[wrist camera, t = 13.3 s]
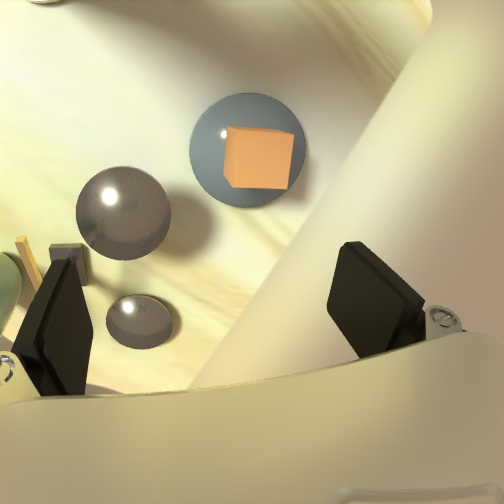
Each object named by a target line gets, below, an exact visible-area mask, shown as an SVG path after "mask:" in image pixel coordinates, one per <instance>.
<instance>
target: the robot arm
mask: <svg viewBox="0 0 504 504" xmlns="http://www.w3.org/2000/svg"><path fill="white" fill-rule="evenodd" d="M28 1H30V2H34V3H52V2H57V1H60V0H28ZM424 303H425V300H424V299H423V298H422V297H421V296H420V295H419V294H418V293H417V292H416V291H415V290H414V289H413V288H411V287H410V286H409V285H408V284H407V283H406V282H405V281H404V280H403V279H402V278H401V277H400V276H399V275H398V274H397V273H395V272H394V271H393V270H392V269H391V268H390V267H389V266H388V265H387V264H386V263H384V262H383V261H382V260H381V259H380V258H378V256H377V255H375V254H374V253H373V252H372V251H371V250H370V249H368V248H367V247H366V246H365V245H364V244H363V243H362V242H360V241H357V242H346V243H345V244H344V245H343V246H342V247H341V248H340V250H339V255H338V259H337V264H336V268H335V272H334V277H333V281H332V285H331V290H330V294H329V297H328V302H327V311H328V313H329V315H330V316H331V318H332V319H333V320H334V322H335V323H336V325H337V326H338V328H339V329H340V331H341V332H342V333H343V335H344V336H345V338H346V339H347V341H348V342H349V343H350V345H351V346H352V348H353V349H354V351H355V352H356V353H357V355H358V357H359V358H360V359H357V360H353V361H349V362H345V363H341V364H338V365H333V366H329V367H324V368H320V369H315V370H310V371H306V372H301V373H296V374H291V375H286V376H281V377H275V378H269V379H263V380H257V381H251V382H244V383H238V384H230V385H223V386H215V387H208V388H198V389H189V390H178V391H167V392H153V393H135V394H113V395H84V394H85V386H86V378H87V371H88V364H89V357H90V351H91V345H92V339H93V326H92V322H91V319H90V316H89V312H88V309H87V305H86V301H85V298H84V294H83V290H82V286H81V282H80V278H79V273H78V269H77V265H76V263H71V260H70V259H57V260H53V262H52V263H51V265H50V267H49V269H48V271H47V273H46V275H45V277H44V279H43V281H42V283H41V285H40V287H39V289H38V291H37V293H36V295H35V297H34V299H33V301H32V302H31V304H30V307H29V309H28V311H27V313H26V315H25V318H24V320H23V322H22V325H21V327H20V329H19V332H18V334H17V337H16V339H15V342H14V344H13V347H12V350H11V352H7V351H1V352H0V504H504V345H503V344H502V343H501V342H500V341H498V340H497V339H496V338H494V337H493V336H491V335H488V334H484V333H479V332H468V331H465V330H462V326H461V322H460V319H459V317H458V316H457V315H456V314H455V313H454V312H453V311H451V310H450V309H448V308H445V307H443V306H438V305H432V306H429V307H428V308H427V309H426V311H425V312H424V311H423V310H422V307H423V305H424Z"/></svg>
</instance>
